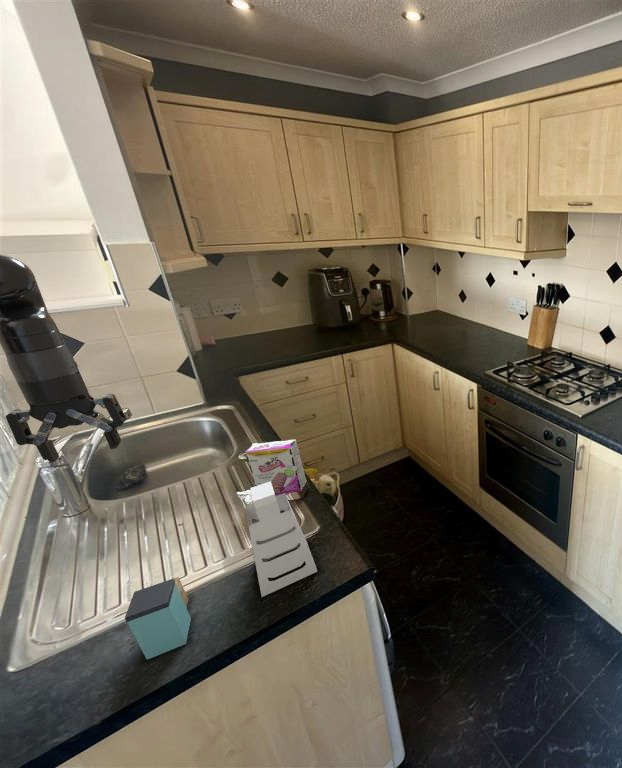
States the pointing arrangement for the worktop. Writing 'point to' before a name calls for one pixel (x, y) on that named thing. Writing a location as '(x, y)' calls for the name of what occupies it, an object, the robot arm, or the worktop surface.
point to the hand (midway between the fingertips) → (85, 453)
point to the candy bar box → (277, 465)
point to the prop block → (181, 591)
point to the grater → (276, 540)
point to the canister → (158, 618)
